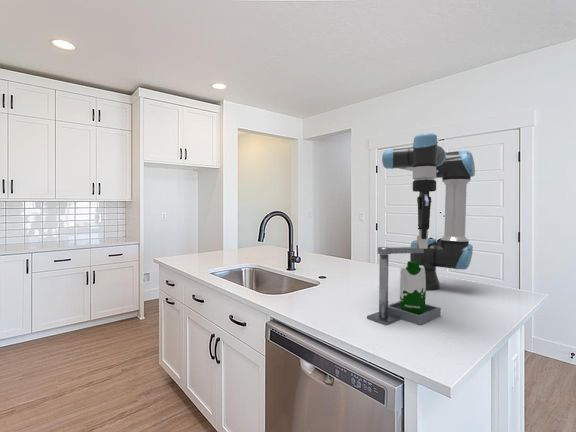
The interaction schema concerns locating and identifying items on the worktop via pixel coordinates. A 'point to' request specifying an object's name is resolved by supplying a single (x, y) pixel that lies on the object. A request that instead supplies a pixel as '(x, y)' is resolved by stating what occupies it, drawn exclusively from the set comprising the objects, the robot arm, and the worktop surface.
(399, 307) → the socket frame
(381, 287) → the post
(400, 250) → the crank handle
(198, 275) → the worktop surface
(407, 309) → the soya milk
